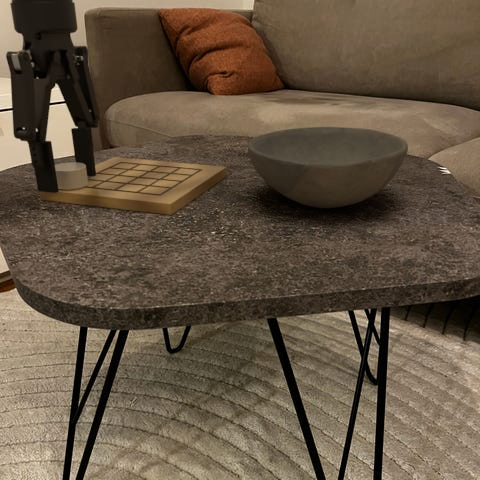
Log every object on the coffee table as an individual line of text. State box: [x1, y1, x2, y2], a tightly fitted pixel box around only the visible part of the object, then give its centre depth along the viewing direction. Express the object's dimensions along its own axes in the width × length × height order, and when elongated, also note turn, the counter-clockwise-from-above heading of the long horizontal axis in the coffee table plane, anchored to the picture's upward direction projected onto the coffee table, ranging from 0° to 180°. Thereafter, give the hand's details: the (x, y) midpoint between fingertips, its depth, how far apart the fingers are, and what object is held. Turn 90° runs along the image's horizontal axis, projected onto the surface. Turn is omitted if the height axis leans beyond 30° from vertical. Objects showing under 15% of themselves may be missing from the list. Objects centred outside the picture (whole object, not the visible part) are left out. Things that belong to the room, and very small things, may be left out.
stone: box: [55, 161, 88, 190], centre depth 82 cm, size 5×5×3 cm
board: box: [39, 156, 228, 216], centre depth 87 cm, size 20×20×2 cm
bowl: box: [246, 126, 409, 209], centre depth 80 cm, size 21×21×8 cm
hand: (68, 182), depth 82 cm, fingers open, 8 cm apart
